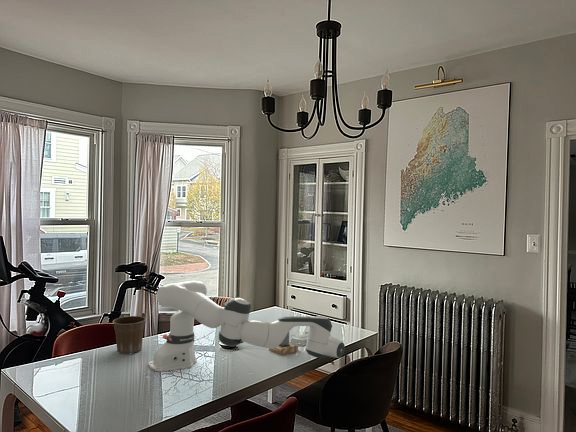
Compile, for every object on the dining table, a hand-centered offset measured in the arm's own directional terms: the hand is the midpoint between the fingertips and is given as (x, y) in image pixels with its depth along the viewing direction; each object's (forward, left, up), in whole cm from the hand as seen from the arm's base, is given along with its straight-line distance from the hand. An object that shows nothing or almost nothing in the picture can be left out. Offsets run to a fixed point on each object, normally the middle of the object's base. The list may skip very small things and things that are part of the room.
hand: (299, 334), depth 229 cm
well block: (0, +12, -11) cm, 16 cm away
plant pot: (-65, +60, -11) cm, 89 cm away
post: (0, +12, -11) cm, 16 cm away
